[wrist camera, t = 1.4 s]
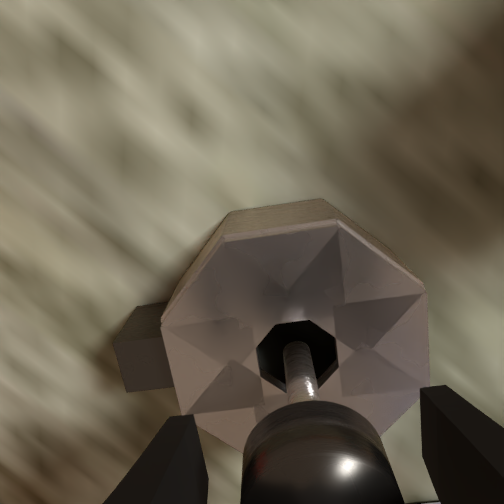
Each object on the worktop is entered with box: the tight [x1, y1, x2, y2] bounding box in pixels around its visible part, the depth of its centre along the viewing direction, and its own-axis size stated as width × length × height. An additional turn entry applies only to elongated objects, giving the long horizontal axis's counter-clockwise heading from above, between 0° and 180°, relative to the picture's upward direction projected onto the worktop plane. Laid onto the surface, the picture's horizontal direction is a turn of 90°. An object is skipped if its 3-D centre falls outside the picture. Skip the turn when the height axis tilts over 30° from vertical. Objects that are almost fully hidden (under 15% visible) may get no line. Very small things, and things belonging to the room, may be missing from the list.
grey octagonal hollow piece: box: [113, 199, 430, 453], centre depth 16 cm, size 9×10×4 cm
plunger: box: [240, 341, 405, 504], centre depth 11 cm, size 3×3×6 cm
